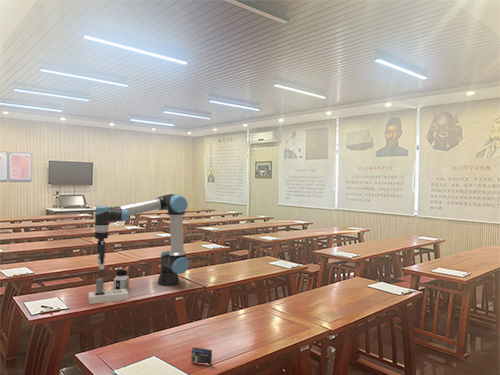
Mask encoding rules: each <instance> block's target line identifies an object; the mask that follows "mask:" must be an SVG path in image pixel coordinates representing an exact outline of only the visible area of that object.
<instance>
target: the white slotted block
mask: <svg viewBox="0 0 500 375" xmlns="http://www.w3.org/2000/svg"><path fill="white" fill-rule="evenodd" d="M87 299H88V304H89V305H93V304H100V303H102V304H103V303H110V302H121V301H127V300H129V292H128V290H127V289H118V290H113V289H110V290H103V295H96V291H89V292H88V298H87Z"/></svg>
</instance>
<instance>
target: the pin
mask: <svg viewBox="0 0 500 375" xmlns="http://www.w3.org/2000/svg"><path fill="white" fill-rule="evenodd" d="M95 282H96V284H95V286H96V287H95V292H96V295H103V291H104V277H98V278H96V281H95Z"/></svg>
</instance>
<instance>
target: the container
mask: <svg viewBox="0 0 500 375" xmlns="http://www.w3.org/2000/svg"><path fill="white" fill-rule="evenodd" d="M127 274H128V272H127V269H125V268H120V269H117V270H116V275H115V277H114V278H113V285H112V286H113V287H112V288H113V289H112V290H118V289H126V290H127V289H128V288H129V286H130V281H129V280H130V276H129V275H128V276H127Z"/></svg>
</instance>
